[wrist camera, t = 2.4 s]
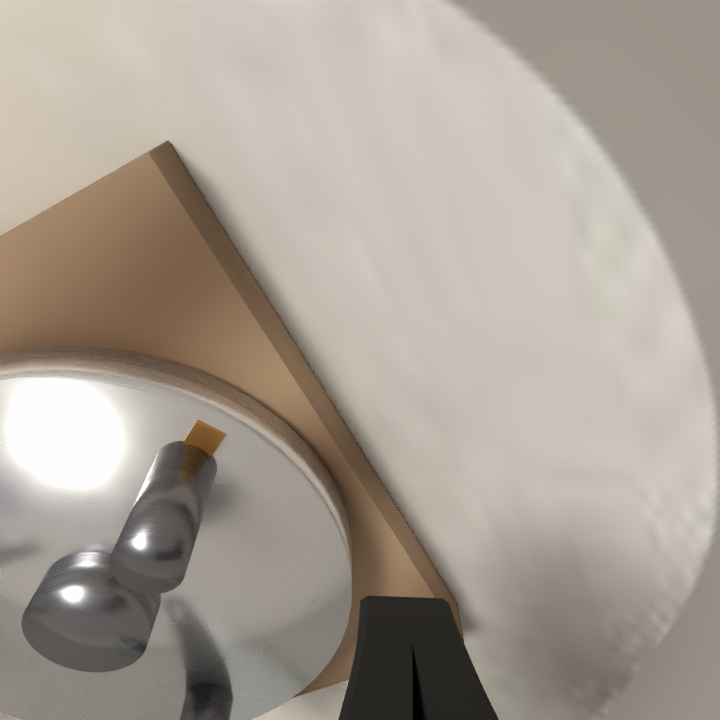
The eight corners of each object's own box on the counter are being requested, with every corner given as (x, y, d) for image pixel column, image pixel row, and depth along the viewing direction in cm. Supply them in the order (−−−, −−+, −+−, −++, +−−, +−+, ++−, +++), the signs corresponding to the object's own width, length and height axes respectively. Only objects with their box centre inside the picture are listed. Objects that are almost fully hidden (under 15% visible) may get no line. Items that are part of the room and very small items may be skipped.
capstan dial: (-46, 240, 13) (-220, 336, 9) (444, 498, 16) (473, 647, 13) (-171, 597, 18) (-317, 756, 14) (222, 735, 22) (192, 894, 18)
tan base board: (-258, 383, 17) (-326, 423, 15) (168, 140, 14) (142, 156, 12) (126, 715, 24) (109, 767, 22) (457, 603, 21) (465, 653, 19)
